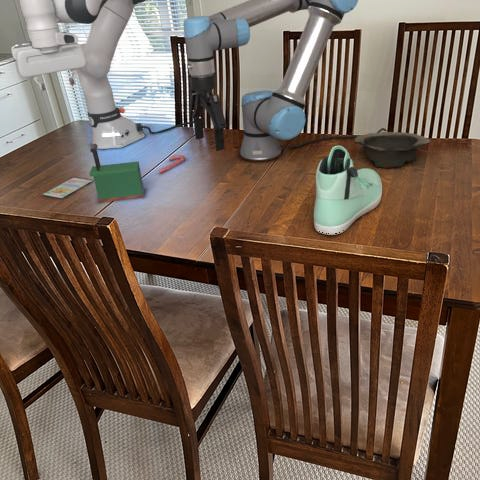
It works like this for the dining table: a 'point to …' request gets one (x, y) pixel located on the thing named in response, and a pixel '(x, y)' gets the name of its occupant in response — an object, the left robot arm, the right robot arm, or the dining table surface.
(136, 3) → the left robot arm
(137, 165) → the lid
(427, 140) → the stone bowl
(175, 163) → the candy cane
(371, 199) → the sneaker
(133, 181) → the chest
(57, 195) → the baking ingredient package
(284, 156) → the dining table surface
